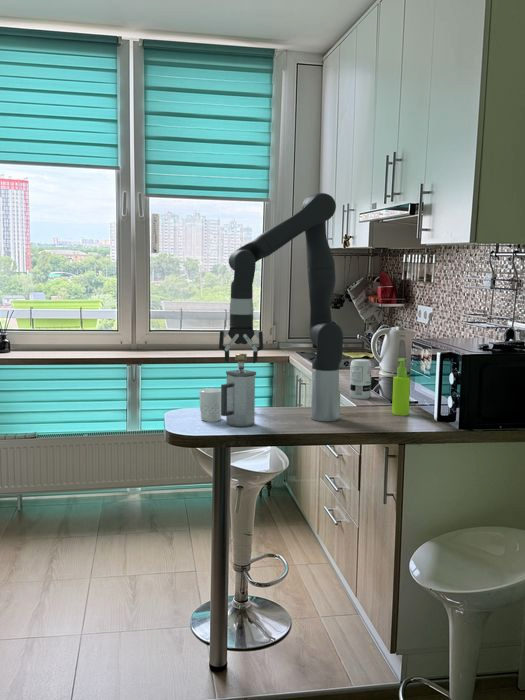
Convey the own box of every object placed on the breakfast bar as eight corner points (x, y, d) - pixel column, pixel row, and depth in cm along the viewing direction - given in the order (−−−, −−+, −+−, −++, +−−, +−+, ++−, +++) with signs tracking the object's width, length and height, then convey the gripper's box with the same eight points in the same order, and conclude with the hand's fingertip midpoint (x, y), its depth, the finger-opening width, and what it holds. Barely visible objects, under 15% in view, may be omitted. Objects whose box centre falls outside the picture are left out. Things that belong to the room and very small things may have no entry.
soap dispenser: (389, 415, 235) (391, 359, 232) (393, 411, 241) (395, 356, 239) (406, 416, 233) (408, 360, 230) (410, 412, 239) (412, 357, 237)
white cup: (219, 422, 221) (219, 392, 219) (196, 421, 222) (196, 391, 221) (225, 417, 228) (225, 388, 227) (203, 416, 230) (203, 387, 229)
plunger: (240, 413, 221) (241, 353, 218) (248, 414, 218) (249, 354, 216) (232, 414, 218) (233, 354, 216) (240, 416, 216) (240, 355, 213)
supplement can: (347, 395, 270) (348, 358, 268) (367, 395, 271) (368, 358, 269) (352, 399, 262) (353, 361, 260) (372, 399, 263) (374, 361, 261)
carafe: (243, 419, 226) (244, 368, 224) (262, 424, 219) (263, 371, 217) (213, 425, 217) (213, 372, 214) (232, 430, 210) (232, 375, 208)
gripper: (263, 312, 218) (263, 361, 220) (220, 311, 218) (219, 360, 220) (263, 313, 210) (262, 364, 212) (218, 313, 210) (218, 364, 212)
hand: (241, 362), depth 216 cm, fingers open, 8 cm apart
